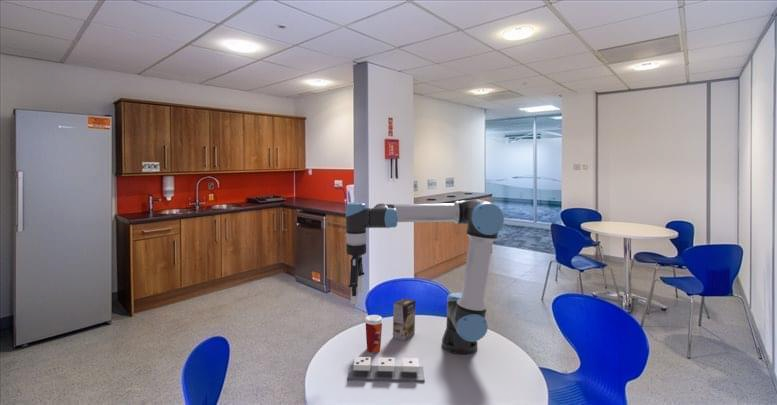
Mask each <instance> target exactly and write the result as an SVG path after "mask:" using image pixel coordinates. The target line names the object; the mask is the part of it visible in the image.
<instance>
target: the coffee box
mask: <svg viewBox="0 0 777 405" xmlns="http://www.w3.org/2000/svg"><path fill="white" fill-rule="evenodd" d="M392 310H393V311H392V312H393V315H392V316H393V317H392V318H393V320H392V321H393V322H392V338H395V339H399V340H401V341H405V340H408V339H409V338H410V337H412V336H413V335H415V333H416V332H415V331H416V300H414V299H410V298H405V297H404V298H402V299H400V300H397V301H395V302H393V309H392Z"/></svg>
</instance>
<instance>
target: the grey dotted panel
mask: <svg viewBox="0 0 777 405" xmlns="http://www.w3.org/2000/svg"><path fill="white" fill-rule="evenodd" d="M353 365H354V364H351V365H350V366H349V370H348V374H347V375H348V376H347V381H366V382H367V381H368V382H404V383H405V382H407V383H425V381H426V380H425V371H424V366H419V372H405V371H403V366H402V365H401V366H399V365H398V366H396V365H395V366H394V371H378V365H371V366H370V371H364V370H353Z"/></svg>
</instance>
